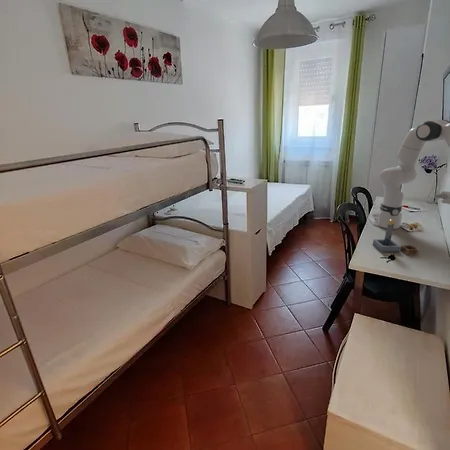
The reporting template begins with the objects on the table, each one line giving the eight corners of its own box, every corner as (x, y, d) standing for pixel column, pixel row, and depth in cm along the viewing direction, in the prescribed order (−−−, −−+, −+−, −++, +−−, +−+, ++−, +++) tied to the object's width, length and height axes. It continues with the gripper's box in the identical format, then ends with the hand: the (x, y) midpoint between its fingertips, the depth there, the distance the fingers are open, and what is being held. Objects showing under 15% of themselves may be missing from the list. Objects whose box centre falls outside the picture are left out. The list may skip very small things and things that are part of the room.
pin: (381, 245, 171) (386, 218, 166) (387, 245, 171) (393, 218, 166) (384, 248, 168) (390, 220, 163) (390, 248, 168) (397, 220, 163)
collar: (400, 250, 168) (401, 245, 167) (411, 250, 168) (412, 245, 167) (406, 255, 163) (407, 249, 162) (417, 255, 163) (418, 250, 162)
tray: (372, 244, 175) (373, 239, 174) (390, 245, 175) (391, 239, 174) (380, 252, 165) (382, 246, 164) (399, 252, 165) (400, 246, 164)
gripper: (460, 189, 162) (431, 187, 164) (481, 199, 143) (448, 197, 146) (457, 200, 164) (428, 199, 167) (477, 212, 145) (444, 210, 148)
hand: (437, 198), depth 156 cm, fingers open, 8 cm apart
